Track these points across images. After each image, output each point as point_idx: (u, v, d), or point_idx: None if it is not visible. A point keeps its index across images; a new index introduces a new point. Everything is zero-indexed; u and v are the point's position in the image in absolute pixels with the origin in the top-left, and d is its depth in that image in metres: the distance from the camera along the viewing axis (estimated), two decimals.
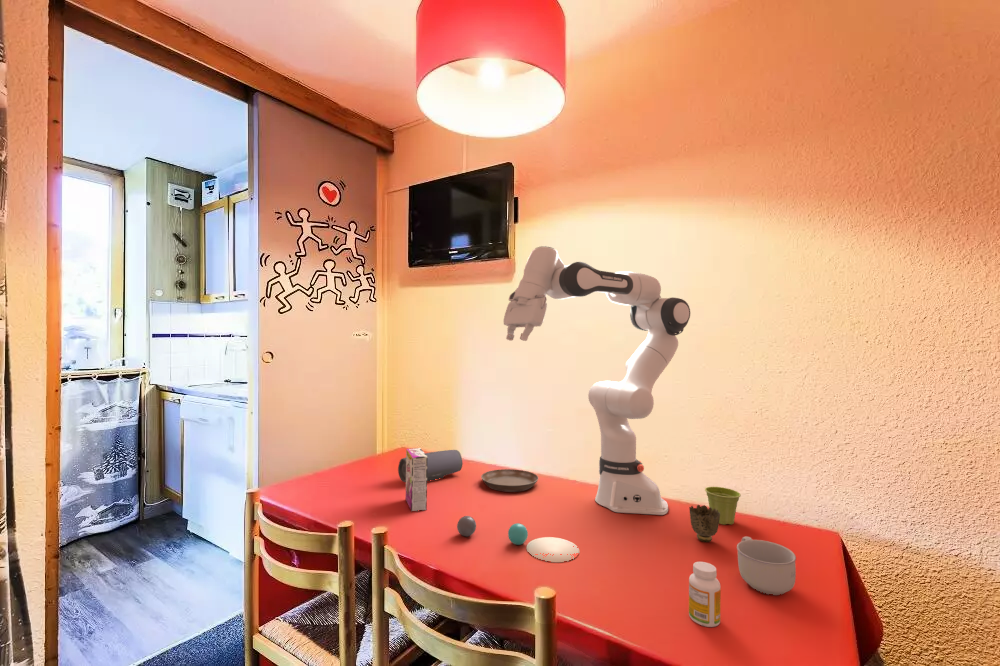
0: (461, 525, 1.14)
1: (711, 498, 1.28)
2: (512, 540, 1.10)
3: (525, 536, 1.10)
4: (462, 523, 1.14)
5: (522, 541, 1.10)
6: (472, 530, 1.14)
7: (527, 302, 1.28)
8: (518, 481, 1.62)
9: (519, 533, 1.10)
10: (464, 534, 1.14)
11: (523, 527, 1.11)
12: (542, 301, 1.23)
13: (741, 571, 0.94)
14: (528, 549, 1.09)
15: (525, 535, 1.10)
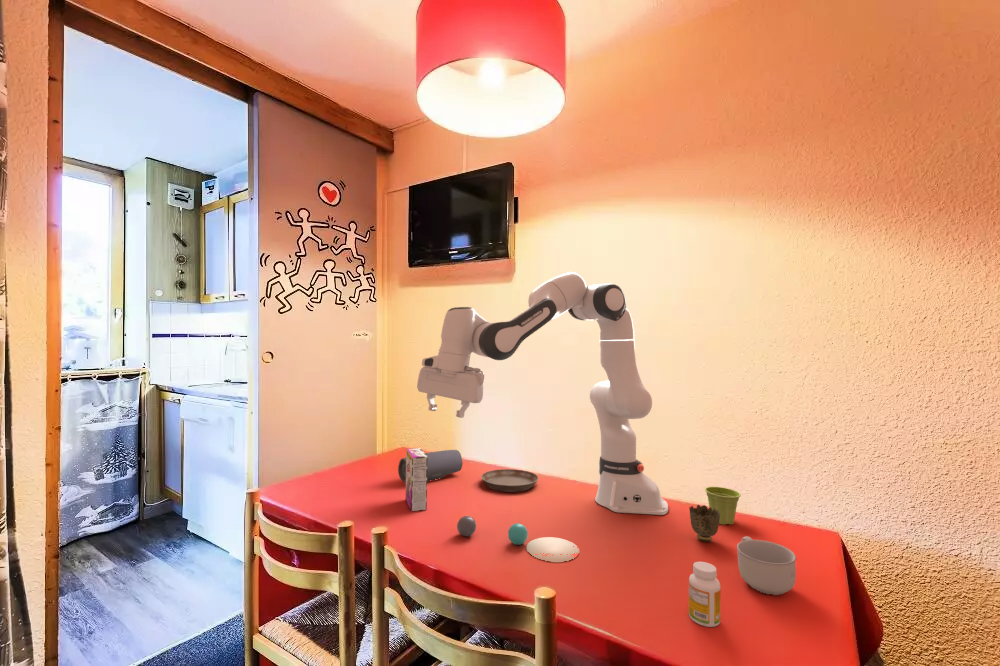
0: (461, 525, 1.14)
1: (711, 498, 1.28)
2: (512, 540, 1.10)
3: (525, 536, 1.10)
4: (462, 523, 1.14)
5: (522, 541, 1.10)
6: (472, 530, 1.14)
7: (457, 375, 1.18)
8: (518, 481, 1.62)
9: (519, 533, 1.10)
10: (464, 534, 1.14)
11: (523, 527, 1.11)
12: (480, 378, 1.17)
13: (741, 571, 0.94)
14: (528, 549, 1.09)
15: (525, 535, 1.10)
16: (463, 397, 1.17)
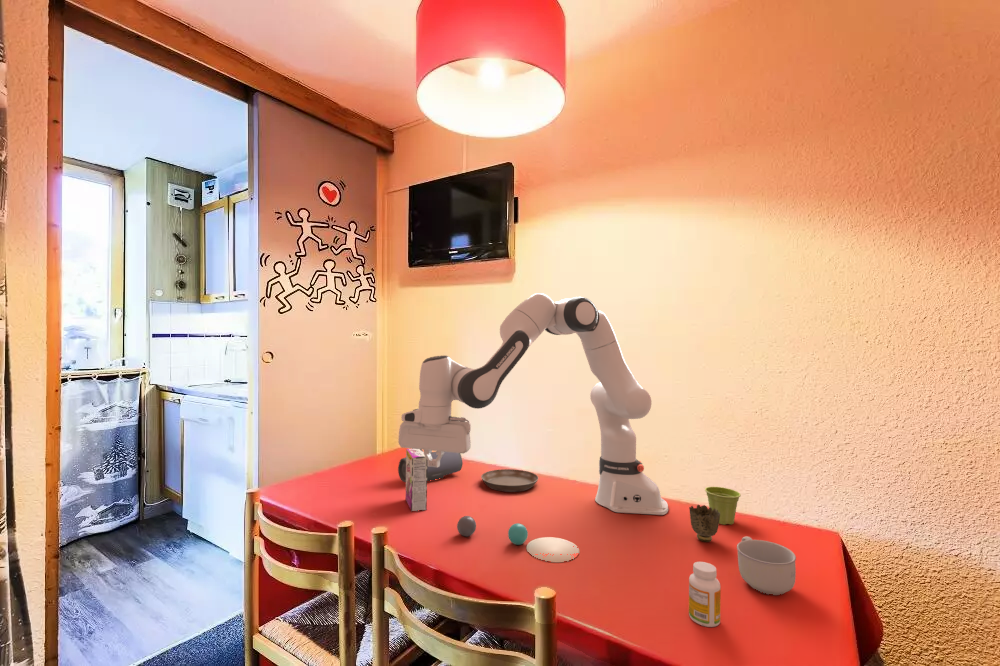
0: (461, 525, 1.14)
1: (711, 498, 1.28)
2: (512, 540, 1.10)
3: (525, 536, 1.10)
4: (462, 523, 1.14)
5: (522, 541, 1.10)
6: (472, 530, 1.14)
7: (443, 427, 1.17)
8: (518, 481, 1.62)
9: (519, 533, 1.10)
10: (464, 534, 1.14)
11: (523, 527, 1.11)
12: (467, 427, 1.16)
13: (741, 571, 0.94)
14: (528, 549, 1.09)
15: (525, 535, 1.10)
16: (452, 449, 1.16)
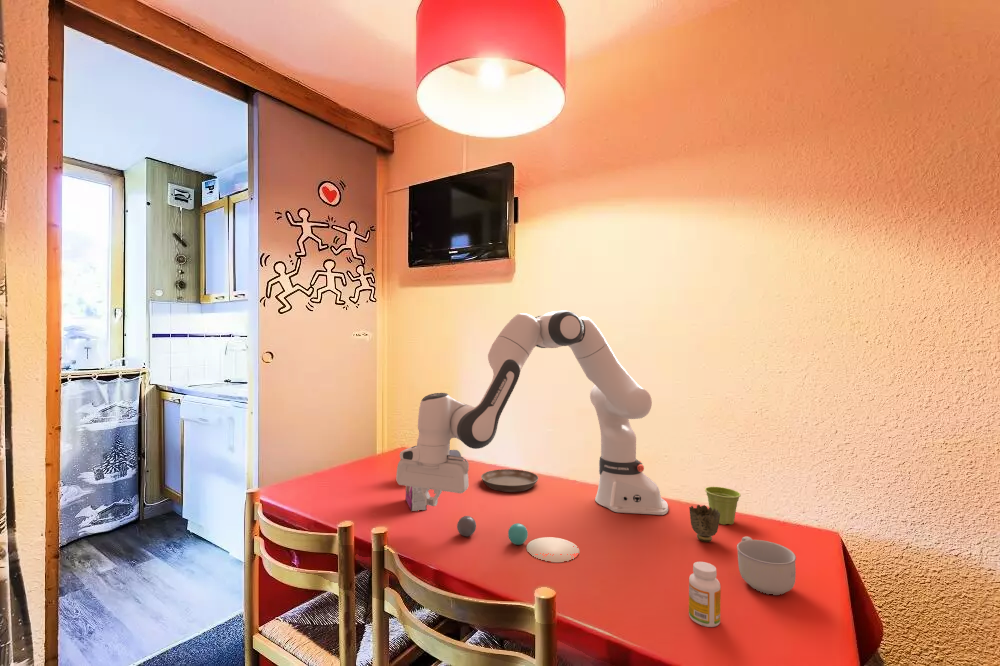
0: (461, 525, 1.14)
1: (711, 498, 1.28)
2: (512, 540, 1.10)
3: (525, 536, 1.10)
4: (462, 523, 1.14)
5: (522, 541, 1.10)
6: (472, 530, 1.14)
7: (441, 467, 1.17)
8: (518, 481, 1.62)
9: (519, 533, 1.10)
10: (464, 534, 1.14)
11: (523, 527, 1.11)
12: (465, 466, 1.16)
13: (741, 571, 0.94)
14: (528, 549, 1.09)
15: (525, 535, 1.10)
16: (450, 488, 1.16)
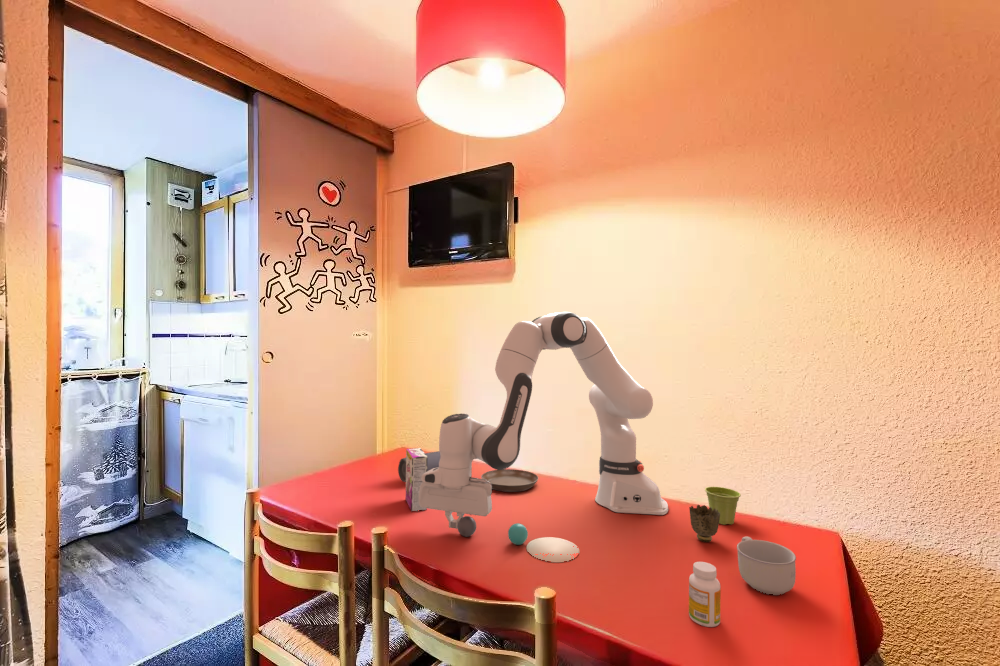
0: (461, 525, 1.14)
1: (711, 498, 1.28)
2: (512, 540, 1.10)
3: (525, 536, 1.10)
4: (463, 523, 1.14)
5: (522, 541, 1.10)
6: (472, 531, 1.14)
7: (464, 489, 1.15)
8: (518, 481, 1.62)
9: (519, 533, 1.10)
10: (464, 534, 1.14)
11: (523, 527, 1.11)
12: (488, 489, 1.15)
13: (741, 571, 0.94)
14: (528, 549, 1.09)
15: (525, 535, 1.10)
16: (473, 511, 1.14)
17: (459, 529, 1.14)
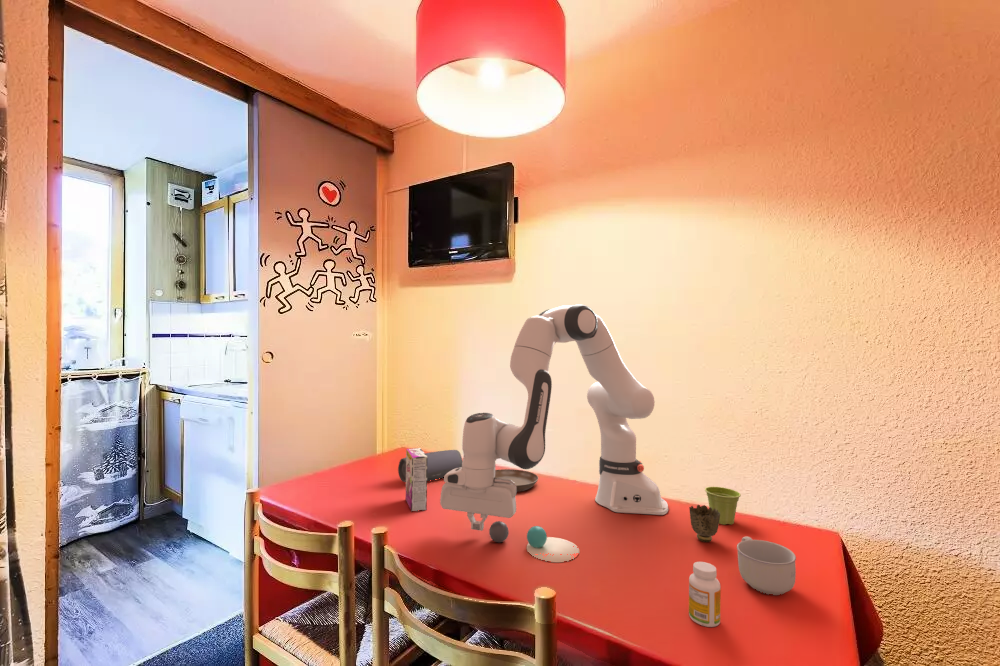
0: (496, 539, 1.11)
1: (711, 498, 1.28)
2: (533, 535, 1.09)
3: (532, 546, 1.10)
4: (495, 540, 1.11)
5: (529, 543, 1.09)
6: (490, 528, 1.13)
7: (488, 490, 1.13)
8: (518, 481, 1.62)
9: (537, 545, 1.08)
10: (496, 529, 1.11)
11: None
12: (513, 490, 1.12)
13: (741, 571, 0.94)
14: (528, 549, 1.09)
15: None
16: (498, 513, 1.12)
17: (500, 536, 1.11)
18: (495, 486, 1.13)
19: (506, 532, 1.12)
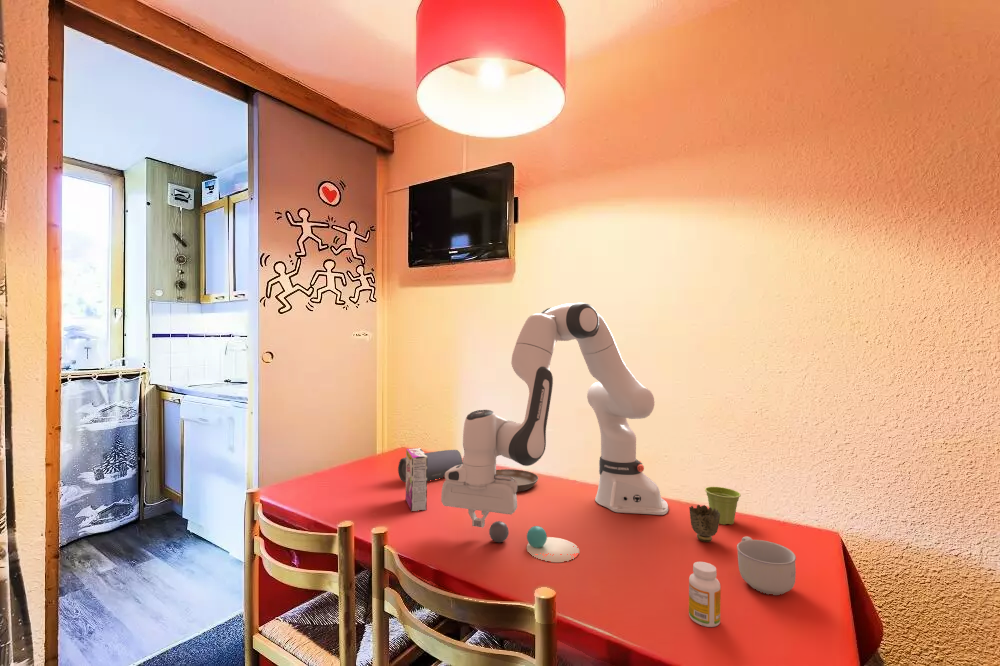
0: (496, 539, 1.11)
1: (711, 498, 1.28)
2: (533, 535, 1.09)
3: (532, 546, 1.10)
4: (495, 540, 1.11)
5: (529, 543, 1.09)
6: (490, 528, 1.13)
7: (489, 487, 1.13)
8: (518, 481, 1.62)
9: (537, 545, 1.08)
10: (496, 529, 1.11)
11: None
12: (514, 486, 1.12)
13: (741, 571, 0.94)
14: (528, 549, 1.09)
15: None
16: (499, 509, 1.12)
17: (500, 536, 1.11)
18: (496, 483, 1.13)
19: (506, 532, 1.12)
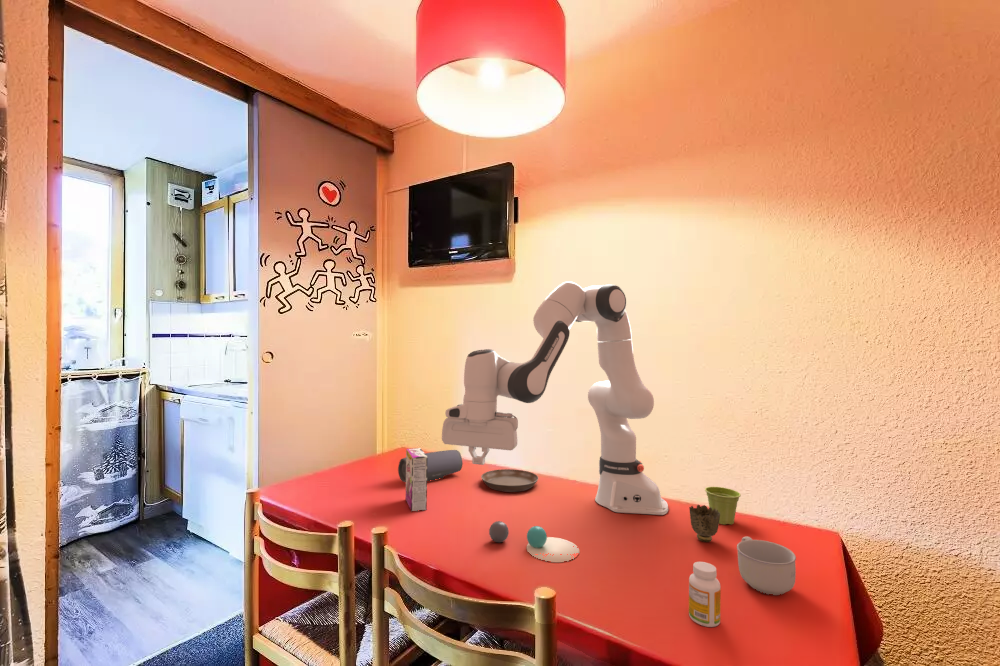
0: (496, 539, 1.11)
1: (711, 498, 1.28)
2: (533, 535, 1.09)
3: (532, 546, 1.10)
4: (495, 540, 1.11)
5: (529, 543, 1.09)
6: (490, 528, 1.13)
7: (489, 423, 1.13)
8: (518, 481, 1.62)
9: (537, 545, 1.08)
10: (496, 529, 1.11)
11: None
12: (514, 423, 1.13)
13: (741, 571, 0.94)
14: (528, 549, 1.09)
15: None
16: (499, 445, 1.12)
17: (500, 536, 1.11)
18: (496, 419, 1.13)
19: (506, 532, 1.12)
